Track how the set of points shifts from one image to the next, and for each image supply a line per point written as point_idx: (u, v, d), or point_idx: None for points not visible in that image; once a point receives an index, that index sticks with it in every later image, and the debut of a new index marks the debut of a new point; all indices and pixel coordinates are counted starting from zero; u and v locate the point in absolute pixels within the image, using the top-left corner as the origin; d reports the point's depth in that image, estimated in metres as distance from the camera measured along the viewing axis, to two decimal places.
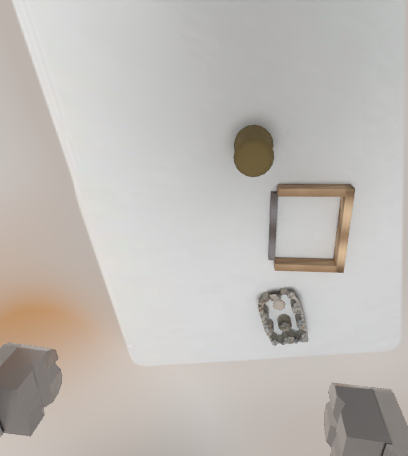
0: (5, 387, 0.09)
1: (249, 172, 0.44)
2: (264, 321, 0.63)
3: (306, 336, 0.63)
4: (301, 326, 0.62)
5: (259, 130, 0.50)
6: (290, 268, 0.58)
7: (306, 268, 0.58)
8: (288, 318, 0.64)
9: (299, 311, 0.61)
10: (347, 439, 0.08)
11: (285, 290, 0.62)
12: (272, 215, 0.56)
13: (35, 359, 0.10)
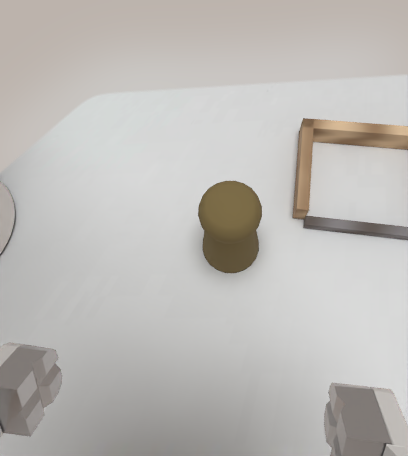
0: (5, 387, 0.09)
1: (250, 213, 0.26)
2: None
3: None
4: None
5: None
6: None
7: None
8: None
9: None
10: (347, 439, 0.08)
11: None
12: (343, 225, 0.36)
13: (35, 359, 0.10)
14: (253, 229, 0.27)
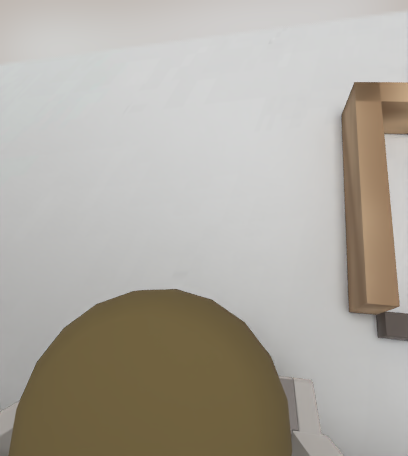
0: None
1: None
2: None
3: None
4: None
5: None
6: None
7: None
8: None
9: None
10: None
11: None
12: None
13: None
14: None
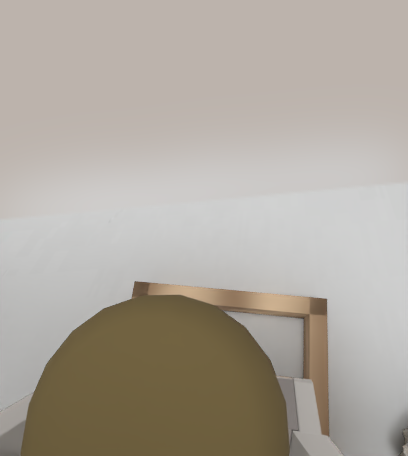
0: None
1: None
2: None
3: None
4: None
5: None
6: None
7: (318, 388, 0.23)
8: None
9: None
10: None
11: None
12: None
13: None
14: None
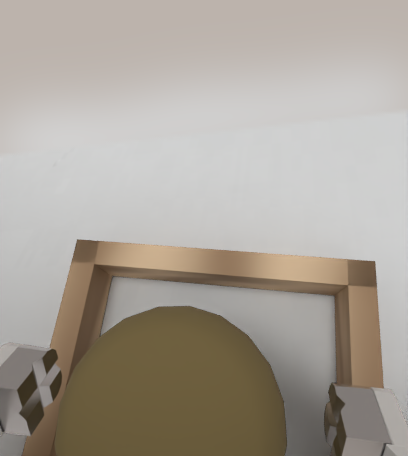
0: (5, 387, 0.09)
1: None
2: None
3: None
4: None
5: None
6: None
7: None
8: None
9: None
10: (347, 439, 0.08)
11: None
12: None
13: (35, 359, 0.10)
14: None
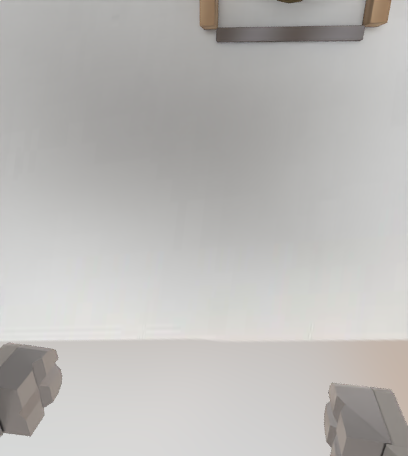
0: (5, 387, 0.09)
1: None
2: None
3: None
4: None
5: None
6: None
7: None
8: None
9: None
10: (347, 439, 0.08)
11: None
12: (261, 35, 0.29)
13: (35, 359, 0.10)
14: None
